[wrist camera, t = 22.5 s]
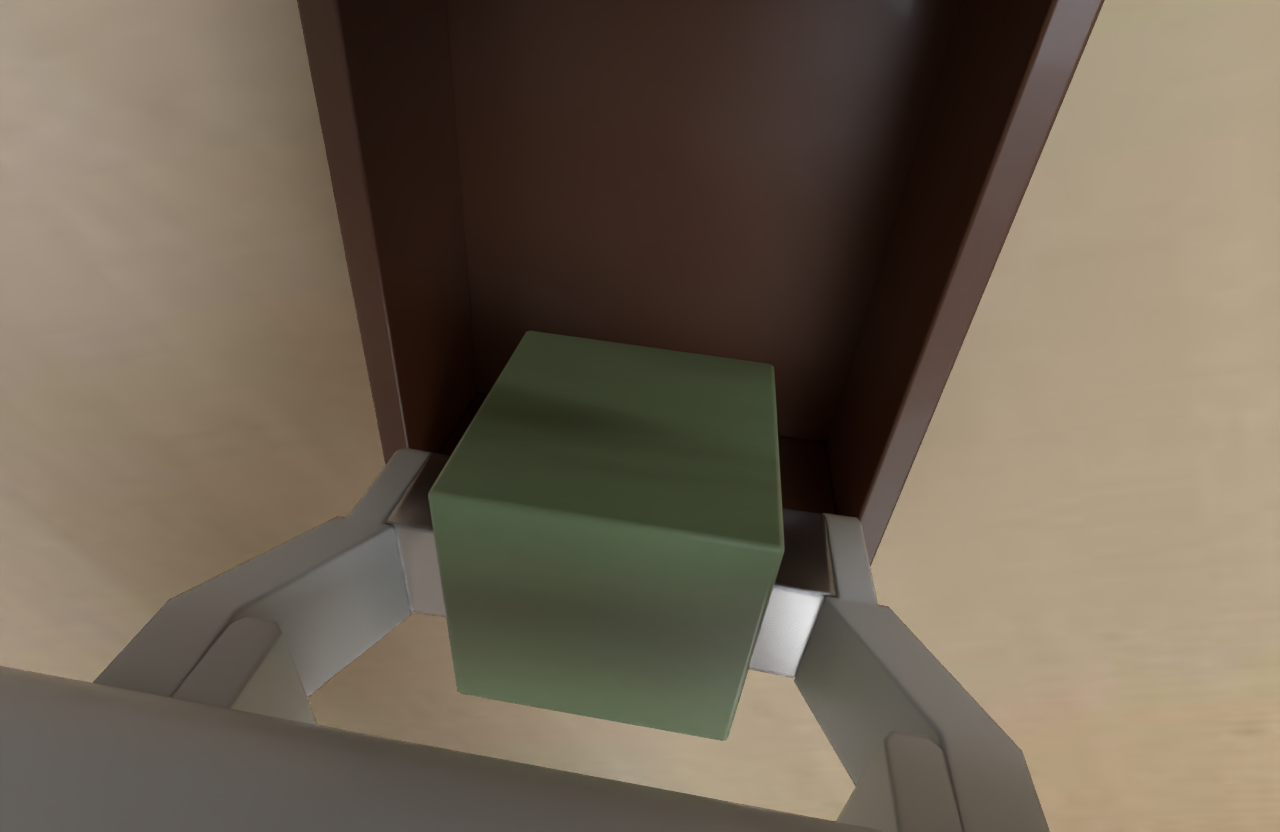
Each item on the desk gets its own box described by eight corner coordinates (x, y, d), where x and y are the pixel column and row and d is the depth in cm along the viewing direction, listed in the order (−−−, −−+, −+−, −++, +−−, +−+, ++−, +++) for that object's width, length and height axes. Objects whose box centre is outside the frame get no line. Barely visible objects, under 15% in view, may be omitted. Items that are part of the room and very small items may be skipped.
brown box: (841, 450, 20) (865, 580, 16) (465, 395, 21) (391, 504, 16) (1102, -349, 10) (1343, -570, 6) (393, -391, 11) (178, -609, 7)
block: (733, 540, 12) (726, 743, 9) (530, 508, 13) (455, 695, 9) (775, 362, 10) (786, 550, 7) (526, 327, 10) (425, 492, 7)
